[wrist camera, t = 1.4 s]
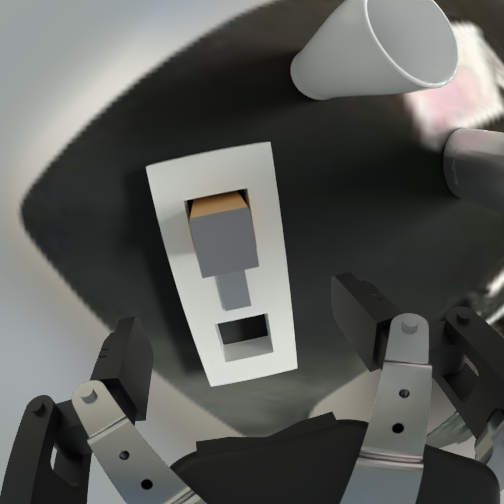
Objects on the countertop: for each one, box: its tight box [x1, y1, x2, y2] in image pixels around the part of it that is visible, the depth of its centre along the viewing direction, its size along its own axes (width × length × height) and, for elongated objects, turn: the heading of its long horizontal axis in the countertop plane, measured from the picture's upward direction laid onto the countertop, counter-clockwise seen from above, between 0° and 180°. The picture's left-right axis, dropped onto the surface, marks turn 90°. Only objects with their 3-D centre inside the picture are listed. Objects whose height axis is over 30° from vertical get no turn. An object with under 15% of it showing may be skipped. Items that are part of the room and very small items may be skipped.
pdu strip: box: [146, 142, 297, 387], centre depth 27 cm, size 10×24×3 cm, turn 9°
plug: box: [189, 191, 259, 278], centre depth 23 cm, size 4×4×8 cm
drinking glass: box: [290, 0, 459, 100], centre depth 16 cm, size 7×7×15 cm
